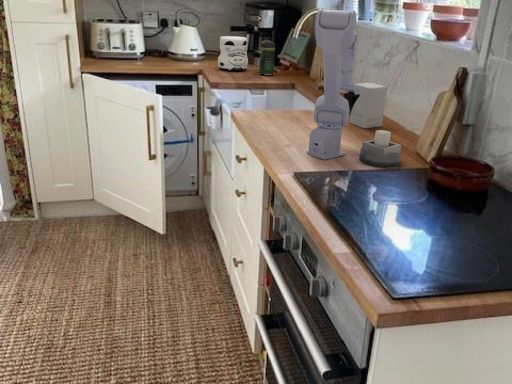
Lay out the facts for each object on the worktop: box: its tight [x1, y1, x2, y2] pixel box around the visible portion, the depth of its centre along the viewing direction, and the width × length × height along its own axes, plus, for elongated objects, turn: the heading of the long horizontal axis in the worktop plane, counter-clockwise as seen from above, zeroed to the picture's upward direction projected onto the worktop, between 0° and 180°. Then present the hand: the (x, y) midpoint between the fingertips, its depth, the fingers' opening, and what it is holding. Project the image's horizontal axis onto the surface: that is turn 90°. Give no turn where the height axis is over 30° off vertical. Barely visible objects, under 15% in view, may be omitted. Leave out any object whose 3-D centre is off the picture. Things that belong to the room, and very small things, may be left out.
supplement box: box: [349, 82, 388, 129], centre depth 184 cm, size 9×9×15 cm
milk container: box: [217, 35, 249, 71], centre depth 282 cm, size 17×17×18 cm
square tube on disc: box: [358, 139, 402, 169], centre depth 147 cm, size 12×12×6 cm
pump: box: [373, 129, 392, 148], centre depth 146 cm, size 6×4×6 cm
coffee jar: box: [258, 39, 276, 75], centre depth 272 cm, size 10×8×19 cm
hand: (338, 112), depth 161 cm, fingers open, 7 cm apart
